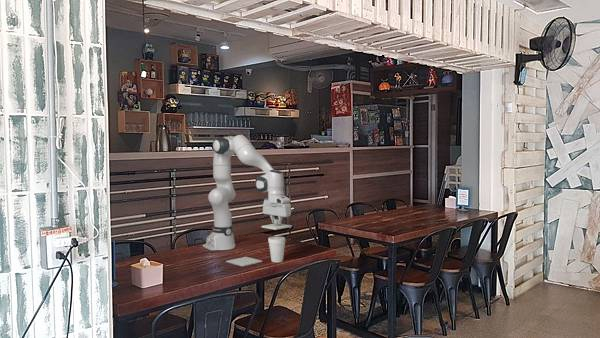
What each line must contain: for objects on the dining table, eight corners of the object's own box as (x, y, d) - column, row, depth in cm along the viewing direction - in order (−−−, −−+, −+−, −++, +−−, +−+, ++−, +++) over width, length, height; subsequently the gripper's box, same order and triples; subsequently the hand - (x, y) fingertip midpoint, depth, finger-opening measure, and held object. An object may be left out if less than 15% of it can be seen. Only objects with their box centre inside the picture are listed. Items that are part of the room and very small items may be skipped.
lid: (261, 227, 276) (261, 219, 276) (277, 224, 285) (277, 217, 284) (275, 229, 268) (275, 222, 267) (291, 226, 276) (291, 219, 276)
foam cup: (283, 263, 272) (282, 240, 271) (266, 262, 274) (266, 239, 273) (287, 259, 281) (286, 236, 280) (271, 258, 283) (271, 236, 282)
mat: (226, 261, 277) (226, 260, 277) (245, 257, 286) (245, 256, 286) (242, 266, 266) (242, 265, 266) (262, 261, 276) (262, 260, 276)
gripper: (259, 198, 281) (260, 222, 281) (284, 200, 266) (284, 226, 267) (268, 197, 285) (268, 220, 286) (292, 199, 270) (293, 224, 271)
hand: (276, 223), depth 276 cm, fingers closed on lid, 3 cm apart
